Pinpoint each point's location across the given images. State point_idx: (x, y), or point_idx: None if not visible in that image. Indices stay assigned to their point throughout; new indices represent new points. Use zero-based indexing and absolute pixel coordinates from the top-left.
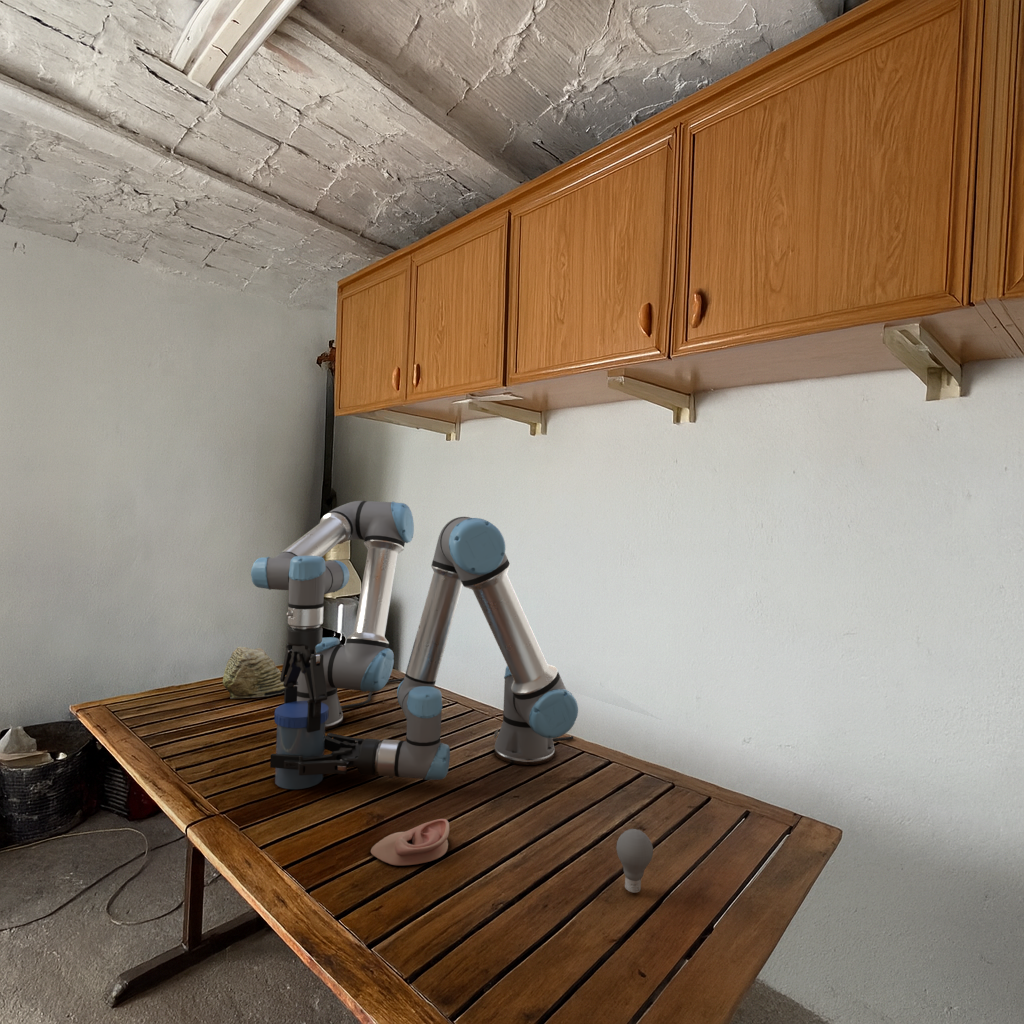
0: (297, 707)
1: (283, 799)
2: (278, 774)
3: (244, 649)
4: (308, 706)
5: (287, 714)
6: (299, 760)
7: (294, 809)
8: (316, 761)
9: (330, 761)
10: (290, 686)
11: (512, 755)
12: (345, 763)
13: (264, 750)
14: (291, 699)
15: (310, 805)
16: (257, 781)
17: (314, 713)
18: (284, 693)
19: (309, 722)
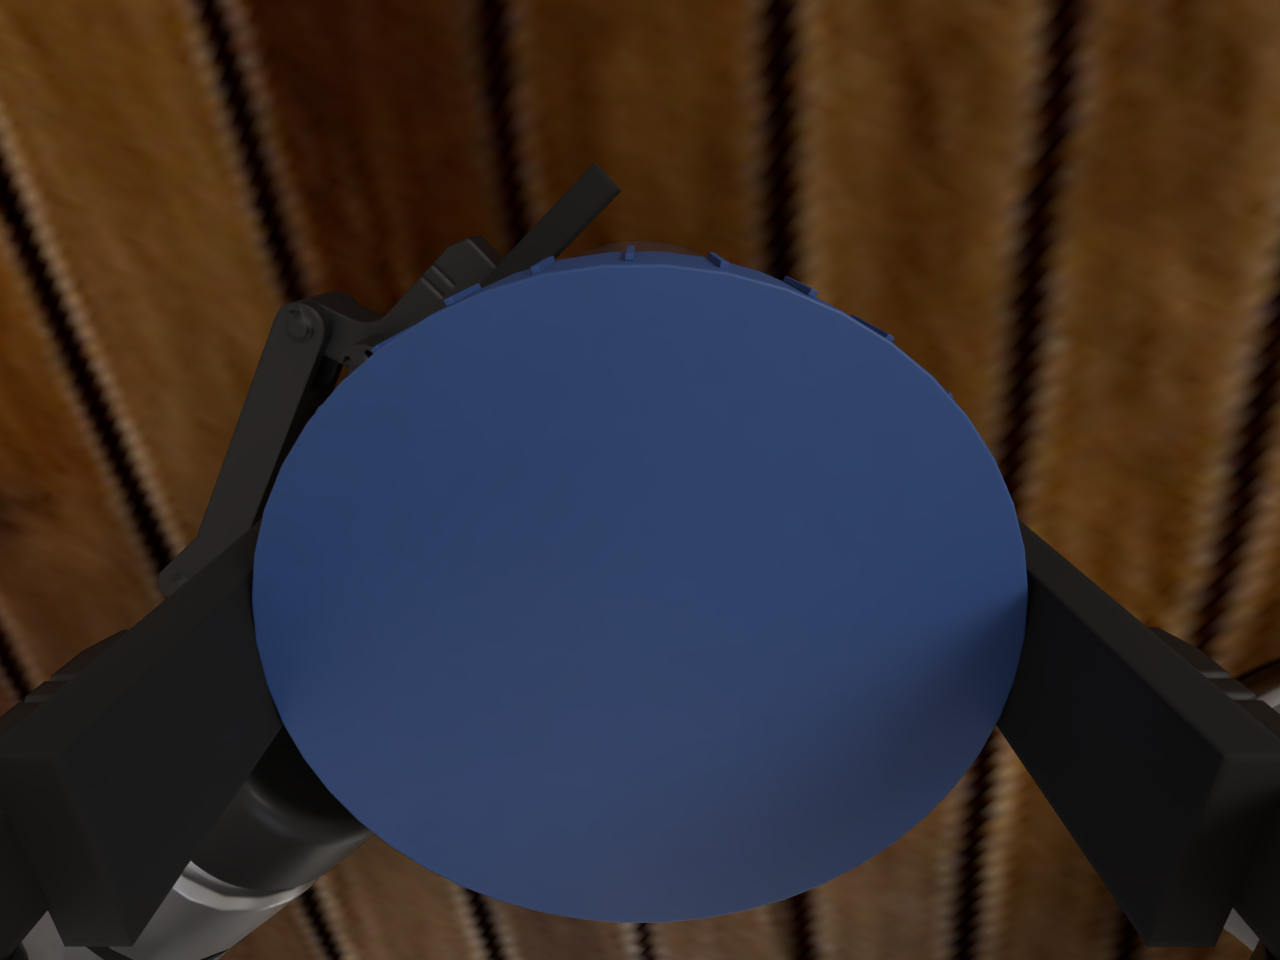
0: (732, 636)
1: (423, 192)
2: (618, 246)
3: None
4: (97, 692)
5: (506, 395)
6: (371, 336)
7: (258, 192)
8: (274, 433)
9: (226, 514)
10: (1262, 868)
11: None
12: (161, 582)
13: (1192, 393)
14: (1039, 689)
15: (266, 294)
16: (774, 157)
17: (56, 672)
18: (1200, 673)
19: (226, 557)
